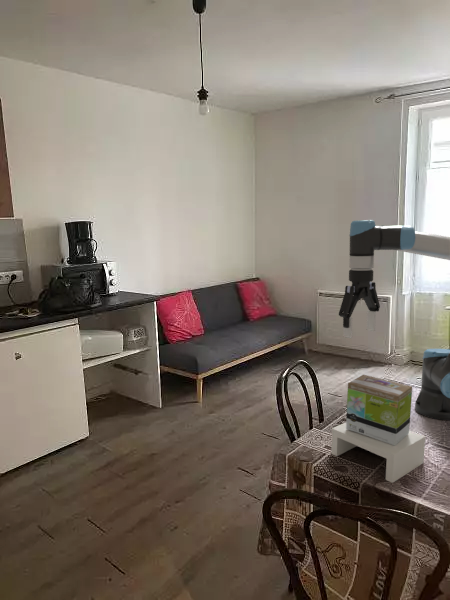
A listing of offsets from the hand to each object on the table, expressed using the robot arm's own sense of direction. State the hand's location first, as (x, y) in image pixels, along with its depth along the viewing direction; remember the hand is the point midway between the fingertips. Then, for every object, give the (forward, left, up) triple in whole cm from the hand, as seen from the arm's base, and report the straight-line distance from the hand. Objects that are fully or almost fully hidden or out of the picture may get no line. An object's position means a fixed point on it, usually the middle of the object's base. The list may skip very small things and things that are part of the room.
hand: (359, 333), depth 147 cm
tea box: (+14, +17, -24) cm, 33 cm away
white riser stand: (+14, +17, -32) cm, 39 cm away
